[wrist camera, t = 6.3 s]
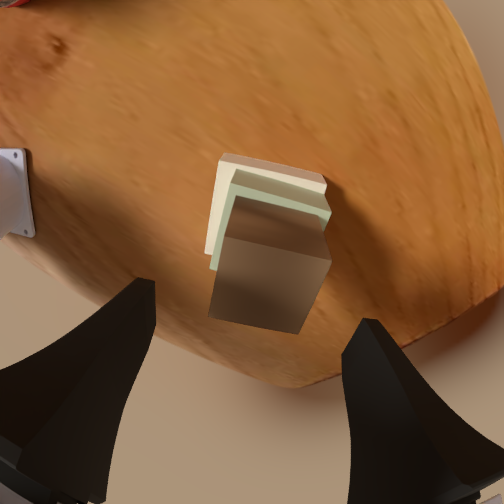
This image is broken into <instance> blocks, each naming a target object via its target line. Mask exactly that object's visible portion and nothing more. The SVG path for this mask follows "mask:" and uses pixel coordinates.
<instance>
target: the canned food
mask: <svg viewBox="0 0 504 504" xmlns="http://www.w3.org/2000/svg"><path fill="white" fill-rule="evenodd" d="M29 1H30V0H0V7H7V8H9V7H15V6H19V5H22V4H24V3H27V2H29Z"/></svg>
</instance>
